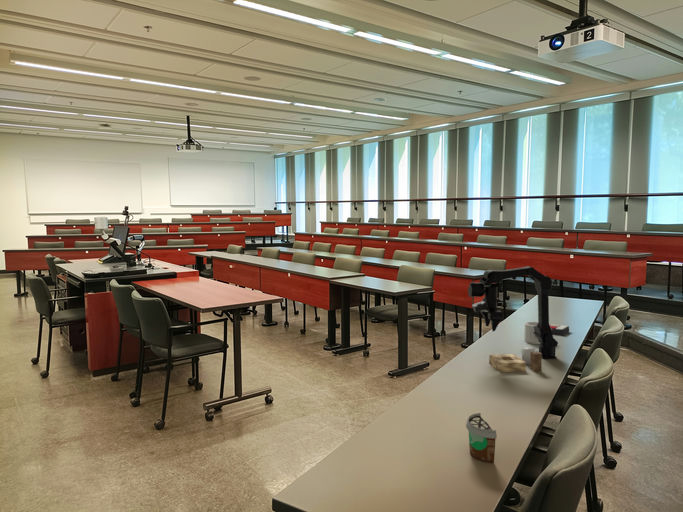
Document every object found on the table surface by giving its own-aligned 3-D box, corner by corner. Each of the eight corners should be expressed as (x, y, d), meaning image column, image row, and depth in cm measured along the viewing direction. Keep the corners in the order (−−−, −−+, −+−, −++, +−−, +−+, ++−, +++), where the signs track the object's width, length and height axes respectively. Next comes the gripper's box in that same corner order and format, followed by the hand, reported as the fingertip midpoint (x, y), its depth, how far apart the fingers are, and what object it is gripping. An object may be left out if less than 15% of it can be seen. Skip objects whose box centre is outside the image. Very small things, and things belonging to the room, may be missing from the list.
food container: (459, 444, 140) (460, 413, 139) (479, 443, 141) (479, 412, 140) (474, 466, 128) (475, 432, 127) (496, 465, 128) (496, 431, 128)
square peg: (537, 368, 206) (538, 351, 205) (541, 371, 203) (541, 353, 202) (530, 369, 206) (530, 351, 205) (533, 371, 203) (534, 353, 202)
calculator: (542, 322, 277) (569, 325, 267) (542, 329, 277) (569, 332, 267) (535, 325, 269) (563, 328, 259) (536, 333, 269) (563, 336, 259)
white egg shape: (531, 360, 217) (531, 346, 216) (536, 364, 212) (537, 349, 211) (519, 361, 217) (520, 346, 216) (524, 365, 211) (525, 350, 211)
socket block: (514, 362, 215) (514, 354, 215) (525, 371, 203) (525, 362, 203) (489, 363, 215) (489, 354, 214) (498, 371, 203) (499, 363, 202)
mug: (524, 343, 245) (524, 325, 244) (524, 338, 255) (524, 320, 254) (552, 346, 240) (552, 327, 239) (551, 340, 250) (551, 322, 249)
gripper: (468, 293, 228) (467, 324, 229) (480, 300, 209) (479, 334, 211) (490, 292, 228) (490, 323, 229) (504, 300, 209) (503, 333, 211)
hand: (490, 328), depth 220 cm, fingers open, 9 cm apart
